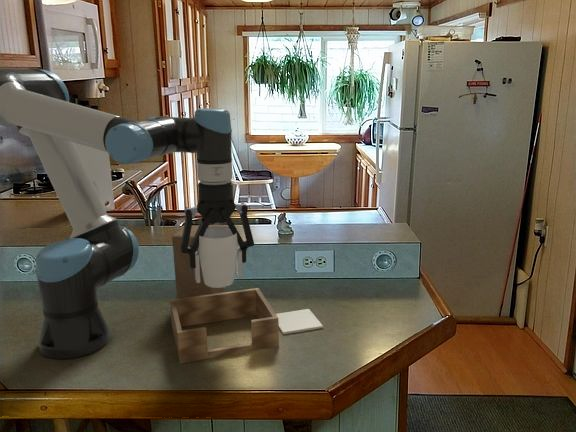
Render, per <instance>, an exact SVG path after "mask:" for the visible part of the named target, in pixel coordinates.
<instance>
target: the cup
mask: <svg viewBox="0 0 576 432" xmlns="http://www.w3.org/2000/svg"><path fill="white" fill-rule="evenodd" d="M209 227H210V228H207V229H206V231H205V234H204V236H203V237H201V236H199V247H198V253H199V258H200V263H201V268H202V273H203V278H204V283H205V285H207V286H209V287H213V288H222V287H224V288H227V287H229V286H231V285H232V284H233V283H234V280H235V273H236V266H237V263H236V257H237V249H238V247H239V244H238V241H237V233H236V234H234V235H233V234H232V232H231V230H230V228H229V227H227V226H209Z"/></svg>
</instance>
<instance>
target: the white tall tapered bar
mask: <svg viewBox="0 0 576 432" xmlns="http://www.w3.org/2000/svg"><path fill="white" fill-rule="evenodd" d="M74 144H75V146H76V148H77V151H78V153H79V155H80V157H81V159H82V161H83V163H84V166H85V168H86V170H87V172H88V174H89V176H90V179H91V181H92V183H93V185H94V187H95V189H96V191H97V194H98V196H99V198H100V200H101V202H102V204H103V206H104V209H105V211H106V212H111V211H115V199H114V190H113V180H112V179H113V178H112V170H111V161H110V155H109V154H108V152H105V151H102V150H98V149H95V148H92V147H88V146H85V145H82V144H78V143H75V142H74ZM106 202H109V204H108V205H106Z"/></svg>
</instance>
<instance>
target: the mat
mask: <svg viewBox="0 0 576 432" xmlns="http://www.w3.org/2000/svg"><path fill="white" fill-rule="evenodd" d="M275 314H276V315H277V317H278V321H279V331H280V332H281V334H282V335H289V334H293V333H294V334H296V333H300V332H301V333H302V332H307V331H314V330H320V329H323V328H324V326H323V324H322V323H321V322H320V321H319V319H318V318H317V317H316V316H315V314H314V313H313V312H312V311H311V310H310V308H305V309H299V310H292V311H285V312H280V313H275Z"/></svg>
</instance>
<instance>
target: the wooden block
mask: <svg viewBox="0 0 576 432" xmlns="http://www.w3.org/2000/svg"><path fill="white" fill-rule="evenodd" d="M198 227H199V225H192V227H191V233H190V238H189V243H188V247H190V245H191V243H192V240H193V238H194V236H195V234H196V232H197V229H198ZM210 227H211V226H208V228H210ZM183 230H184V227H182V228H181V229H180V230H179V231H178V232H176V233H175V234H174V235H172V237H171V239H172V251H173V252H172V253H173V254H172V255H173V265H174V277H175V278H174V279H175V291H176V292H175V293H176V299H179V298H187V297H194V296H201V295H209V294H216V293H224V292H225V287H222V288H213V287H209V286H207V285H205V283H204V278H203V273H202V268H201V263H200V258H199V266H200V283H197V282H196V279H195V268H191V266H190V261H189V254H187V253H182V251H181V248H180V246H181V241H182V235H183ZM197 252H198V249H197ZM198 254H199V253H198Z"/></svg>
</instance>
